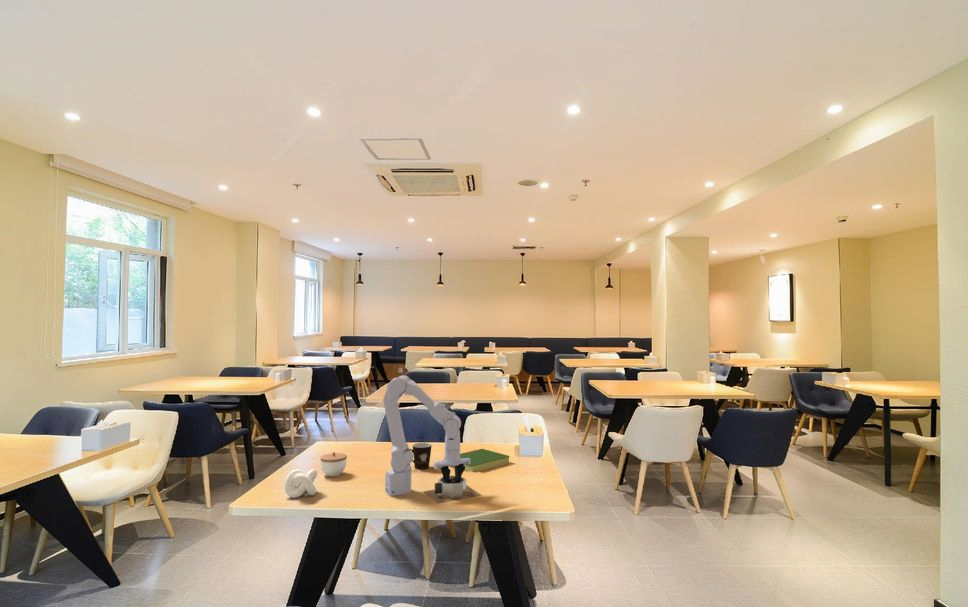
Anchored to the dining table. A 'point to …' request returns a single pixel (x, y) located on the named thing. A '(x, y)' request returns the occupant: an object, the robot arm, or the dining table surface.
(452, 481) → the grey knobbed lid
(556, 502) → the dining table surface
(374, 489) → the dining table surface
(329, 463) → the lidded jar
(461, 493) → the silver octagonal piece
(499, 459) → the hardcover book
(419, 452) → the coffee mug
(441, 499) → the serving board
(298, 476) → the white knot ornament
